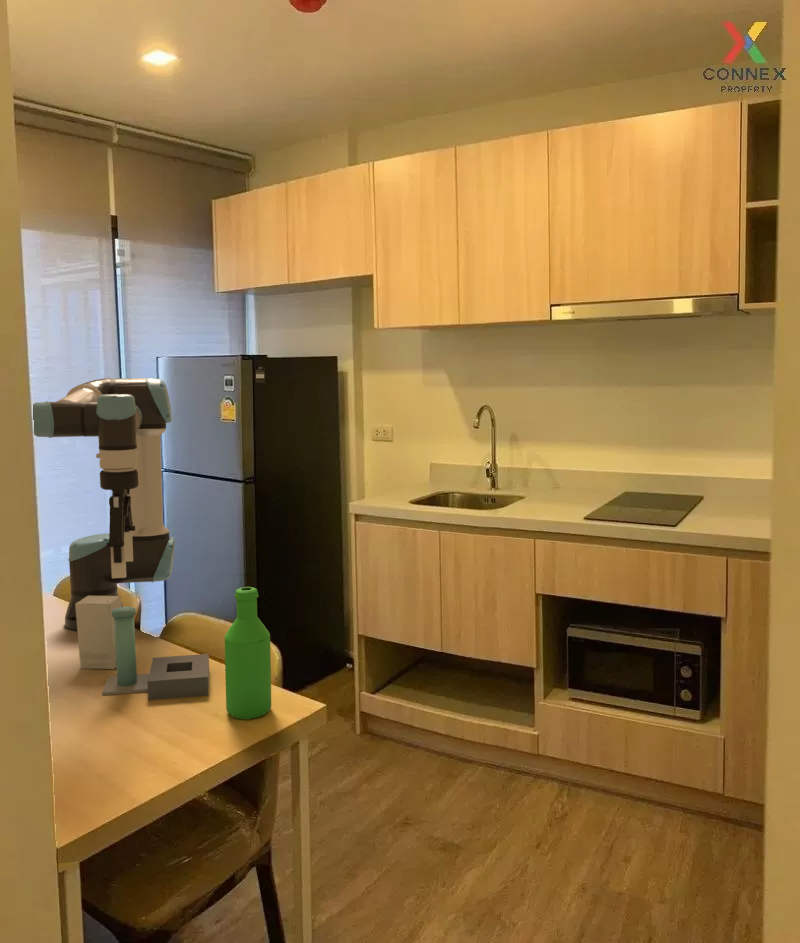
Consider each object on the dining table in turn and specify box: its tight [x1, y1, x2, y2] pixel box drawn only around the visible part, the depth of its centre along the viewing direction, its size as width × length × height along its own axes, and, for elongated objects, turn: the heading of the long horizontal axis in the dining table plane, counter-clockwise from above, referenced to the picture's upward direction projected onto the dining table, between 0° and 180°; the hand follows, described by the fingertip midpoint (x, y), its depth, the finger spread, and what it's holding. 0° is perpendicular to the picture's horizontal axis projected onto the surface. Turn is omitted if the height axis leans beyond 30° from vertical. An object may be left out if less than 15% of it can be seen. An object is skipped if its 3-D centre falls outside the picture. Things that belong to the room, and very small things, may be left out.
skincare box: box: [75, 595, 122, 670], centre depth 186 cm, size 8×7×16 cm
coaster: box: [101, 673, 149, 696], centre depth 175 cm, size 9×9×1 cm
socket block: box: [147, 653, 210, 701], centre depth 175 cm, size 14×12×4 cm
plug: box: [112, 606, 138, 686], centre depth 174 cm, size 5×5×16 cm
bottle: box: [224, 586, 272, 720], centre depth 160 cm, size 9×9×25 cm
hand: (122, 569), depth 172 cm, fingers open, 13 cm apart
